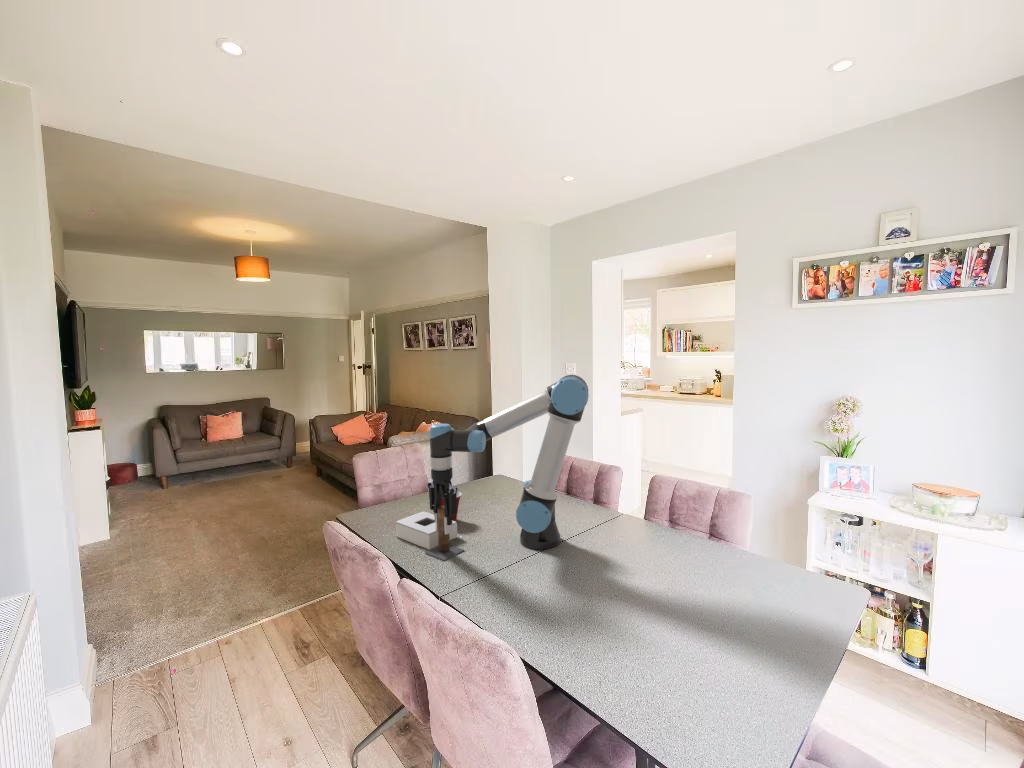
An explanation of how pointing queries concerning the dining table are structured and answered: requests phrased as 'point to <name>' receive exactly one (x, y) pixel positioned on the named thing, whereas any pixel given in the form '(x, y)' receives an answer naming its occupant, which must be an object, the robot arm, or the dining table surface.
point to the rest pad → (444, 552)
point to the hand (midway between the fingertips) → (443, 531)
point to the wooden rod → (442, 531)
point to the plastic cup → (457, 505)
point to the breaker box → (421, 530)
